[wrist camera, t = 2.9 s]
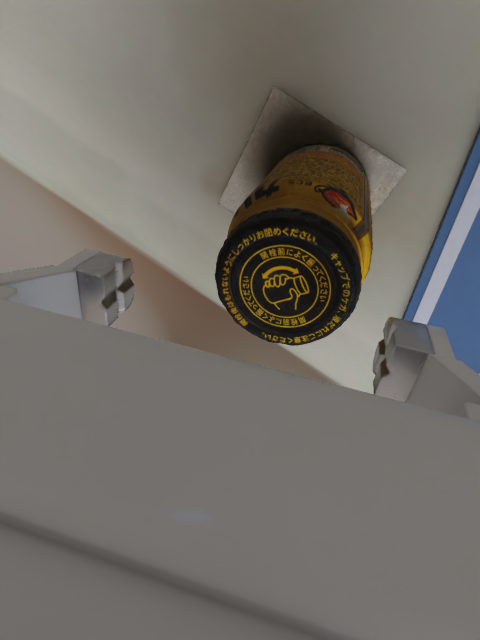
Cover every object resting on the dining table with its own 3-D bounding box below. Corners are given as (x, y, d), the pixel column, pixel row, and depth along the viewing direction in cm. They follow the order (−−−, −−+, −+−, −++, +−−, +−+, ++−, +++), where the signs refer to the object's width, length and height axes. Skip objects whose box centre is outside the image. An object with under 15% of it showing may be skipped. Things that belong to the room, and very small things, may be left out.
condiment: (330, 270, 26) (310, 393, 16) (219, 202, 25) (127, 286, 15) (407, 169, 21) (444, 251, 12) (275, 85, 21) (197, 97, 11)
